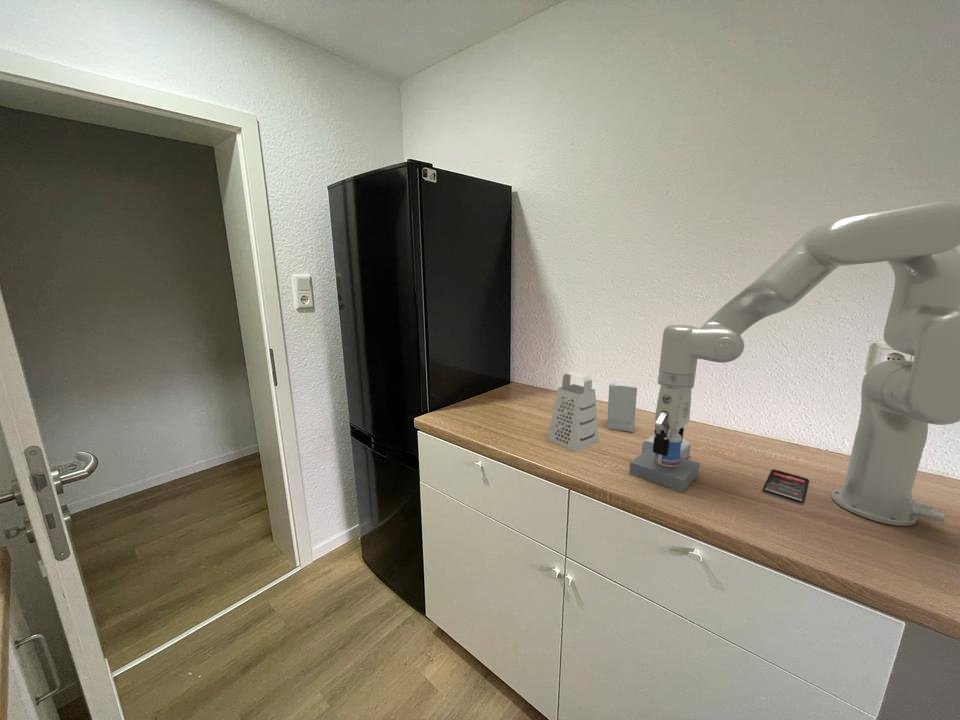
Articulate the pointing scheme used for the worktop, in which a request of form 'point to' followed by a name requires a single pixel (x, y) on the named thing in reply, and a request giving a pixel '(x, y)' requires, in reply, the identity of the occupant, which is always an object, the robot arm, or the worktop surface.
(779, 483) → the smartphone
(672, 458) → the pill bottle
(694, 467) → the grey pad
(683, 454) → the charger
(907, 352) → the robot arm
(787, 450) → the worktop surface
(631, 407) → the skincare box
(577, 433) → the grater
